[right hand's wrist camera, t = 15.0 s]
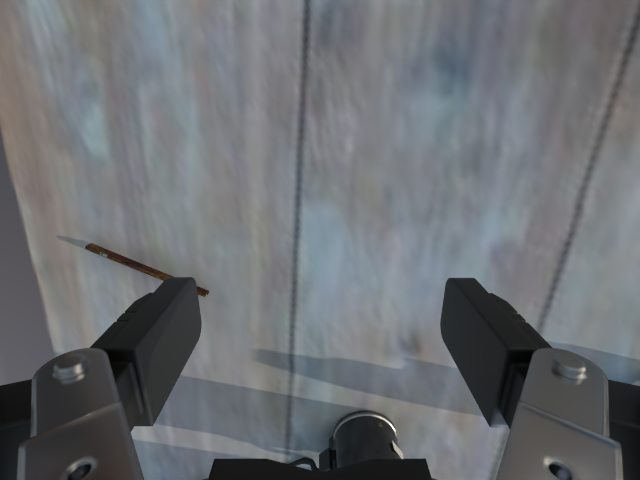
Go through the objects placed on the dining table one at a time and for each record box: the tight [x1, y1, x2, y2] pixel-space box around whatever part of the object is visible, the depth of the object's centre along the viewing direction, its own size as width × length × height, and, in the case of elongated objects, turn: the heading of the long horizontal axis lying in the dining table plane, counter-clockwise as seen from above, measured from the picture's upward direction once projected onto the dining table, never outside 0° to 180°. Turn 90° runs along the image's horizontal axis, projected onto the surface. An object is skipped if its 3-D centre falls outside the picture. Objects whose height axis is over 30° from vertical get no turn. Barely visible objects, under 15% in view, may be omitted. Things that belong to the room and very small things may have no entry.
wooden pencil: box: [85, 243, 209, 297], centre depth 43 cm, size 15×1×1 cm, turn 64°
